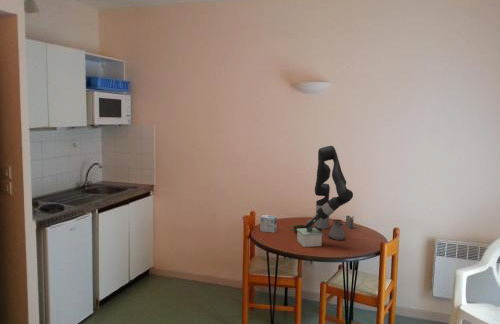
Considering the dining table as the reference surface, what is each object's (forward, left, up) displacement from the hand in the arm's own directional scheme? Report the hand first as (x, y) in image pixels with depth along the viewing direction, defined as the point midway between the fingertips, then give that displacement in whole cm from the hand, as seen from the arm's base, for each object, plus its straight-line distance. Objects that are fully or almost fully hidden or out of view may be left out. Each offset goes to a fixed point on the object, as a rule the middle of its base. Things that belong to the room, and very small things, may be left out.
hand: (306, 226), depth 256 cm
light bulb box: (+16, -33, -12) cm, 39 cm away
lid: (-2, +1, -5) cm, 5 cm away
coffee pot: (-24, -2, -12) cm, 27 cm away
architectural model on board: (-47, -33, -12) cm, 59 cm away
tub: (-2, +1, -12) cm, 12 cm away
